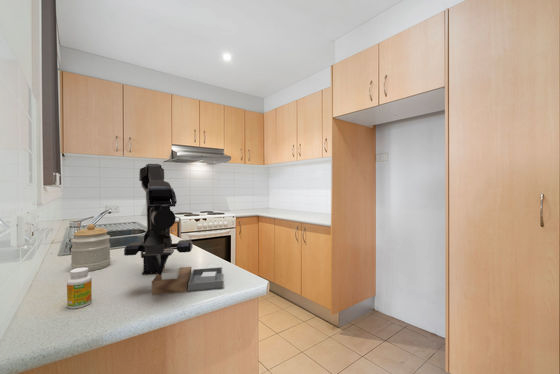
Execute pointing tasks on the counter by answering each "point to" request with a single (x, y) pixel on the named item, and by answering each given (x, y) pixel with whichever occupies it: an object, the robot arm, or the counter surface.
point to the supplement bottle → (79, 288)
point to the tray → (197, 285)
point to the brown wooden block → (172, 283)
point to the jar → (90, 248)
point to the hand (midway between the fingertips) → (160, 274)
